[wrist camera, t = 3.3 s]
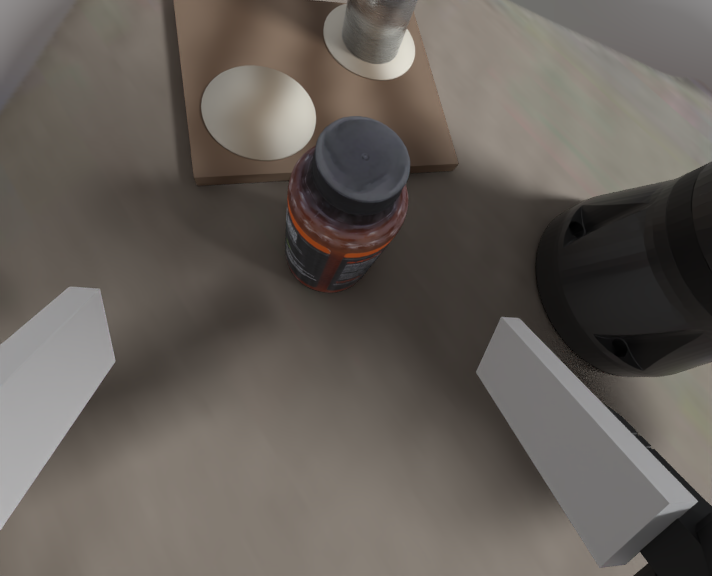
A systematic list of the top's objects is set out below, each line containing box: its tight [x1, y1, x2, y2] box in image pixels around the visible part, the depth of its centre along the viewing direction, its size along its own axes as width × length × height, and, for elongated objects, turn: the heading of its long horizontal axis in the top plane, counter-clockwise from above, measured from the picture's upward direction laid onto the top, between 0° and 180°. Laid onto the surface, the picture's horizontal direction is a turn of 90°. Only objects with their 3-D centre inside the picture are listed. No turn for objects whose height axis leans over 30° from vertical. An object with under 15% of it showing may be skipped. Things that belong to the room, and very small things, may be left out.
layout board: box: [173, 0, 459, 186], centre depth 27 cm, size 20×16×1 cm
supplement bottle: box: [285, 116, 410, 293], centre depth 19 cm, size 6×6×11 cm
